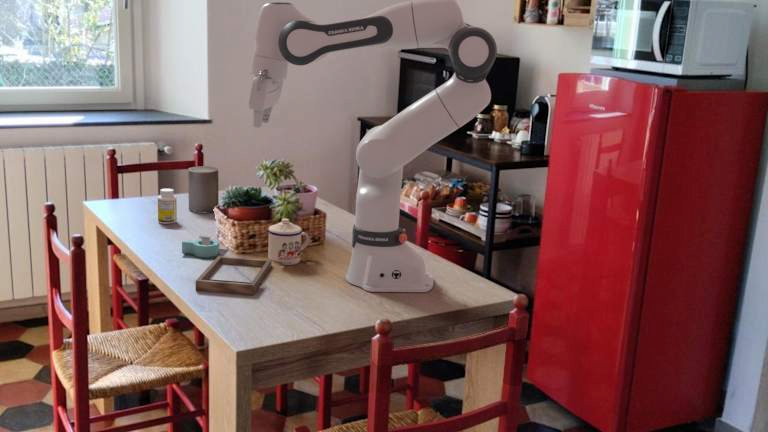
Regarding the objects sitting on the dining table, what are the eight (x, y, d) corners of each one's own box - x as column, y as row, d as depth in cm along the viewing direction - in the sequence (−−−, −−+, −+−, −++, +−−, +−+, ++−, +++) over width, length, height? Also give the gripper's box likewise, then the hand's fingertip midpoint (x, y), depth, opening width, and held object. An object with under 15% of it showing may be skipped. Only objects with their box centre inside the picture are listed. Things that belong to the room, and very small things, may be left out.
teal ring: (221, 250, 221) (221, 240, 220) (214, 257, 215) (214, 247, 214) (186, 248, 222) (186, 237, 221) (179, 255, 215) (179, 244, 215)
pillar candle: (221, 207, 271) (220, 162, 268) (215, 214, 262) (215, 168, 258) (191, 205, 271) (191, 161, 267) (185, 212, 262) (184, 167, 258)
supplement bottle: (166, 218, 253) (166, 186, 251) (180, 221, 251) (180, 189, 248) (154, 222, 248) (153, 189, 246) (167, 225, 246) (167, 192, 243)
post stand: (229, 253, 223) (229, 233, 221) (219, 264, 213) (219, 243, 212) (193, 250, 223) (193, 230, 222) (181, 261, 214) (181, 240, 212)
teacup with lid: (278, 268, 213) (279, 225, 210) (261, 258, 220) (261, 217, 217) (316, 261, 220) (318, 220, 217) (298, 252, 227) (300, 212, 224)
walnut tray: (271, 269, 211) (271, 260, 211) (253, 295, 192) (253, 285, 192) (218, 265, 212) (218, 256, 212) (195, 290, 193) (195, 280, 192)
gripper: (273, 74, 188) (265, 132, 191) (288, 68, 208) (280, 121, 211) (246, 69, 188) (239, 127, 191) (264, 64, 208) (257, 117, 211)
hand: (261, 124), depth 201 cm, fingers open, 8 cm apart
